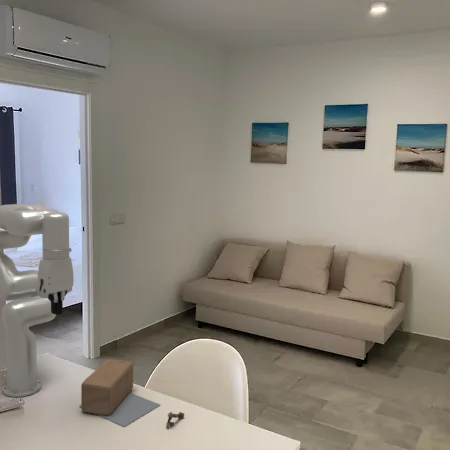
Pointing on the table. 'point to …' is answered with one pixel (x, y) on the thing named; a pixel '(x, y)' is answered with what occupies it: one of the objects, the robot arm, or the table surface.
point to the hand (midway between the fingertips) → (56, 313)
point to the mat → (130, 410)
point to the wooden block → (107, 387)
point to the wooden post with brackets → (170, 415)
